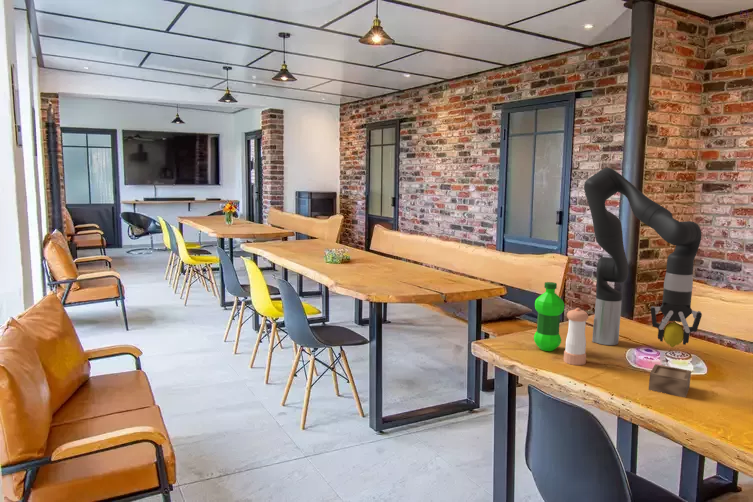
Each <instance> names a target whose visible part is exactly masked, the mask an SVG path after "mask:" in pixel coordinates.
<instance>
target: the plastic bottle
mask: <svg viewBox="0 0 753 502" xmlns="http://www.w3.org/2000/svg"><path fill="white" fill-rule="evenodd" d="M557 287H558V286H557V282H551V281H546V282H544V289H545V291H544V292H543V293H542V294H541V295H539V296H538V297H537V298H536V299H535V301H534V308H535V311H536V312H537V319H536V331H535V333H534V334H533V340H534V343H535V345H536V346H537V347H538V348H539V349H540V350H541V351H546V352H553V351H555V350H556V349H557V348H558V347H560V345H561V343H562V337H561V335H560V324H561V321H560V320H561V314H562V313H564V310H565V303H564V300H563V299H562V298H561V297H560V296H559V295H558V294H557V293H556V291H555V290H556V289H557Z"/></svg>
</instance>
